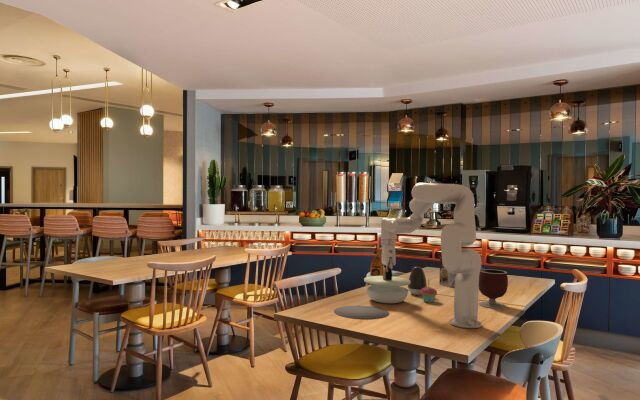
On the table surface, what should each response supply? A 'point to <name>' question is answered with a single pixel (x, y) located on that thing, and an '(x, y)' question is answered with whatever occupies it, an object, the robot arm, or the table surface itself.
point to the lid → (383, 282)
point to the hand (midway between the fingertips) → (387, 278)
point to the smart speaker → (417, 280)
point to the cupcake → (428, 293)
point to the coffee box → (446, 276)
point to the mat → (361, 312)
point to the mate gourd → (492, 286)
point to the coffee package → (377, 264)
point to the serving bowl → (387, 293)
